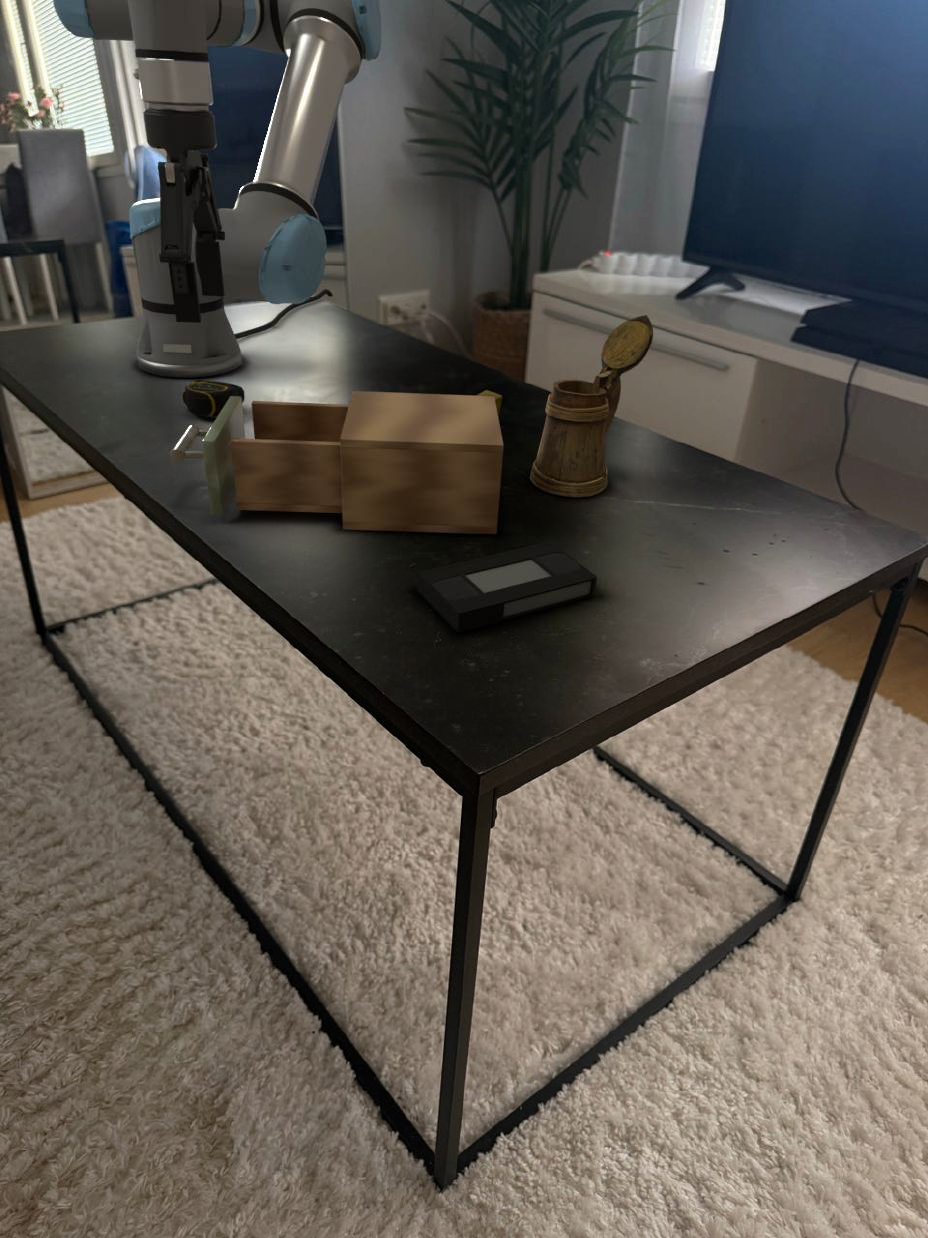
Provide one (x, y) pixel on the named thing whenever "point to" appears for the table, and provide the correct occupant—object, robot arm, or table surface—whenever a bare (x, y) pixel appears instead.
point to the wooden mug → (587, 417)
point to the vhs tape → (505, 585)
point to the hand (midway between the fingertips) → (202, 308)
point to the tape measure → (209, 397)
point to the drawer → (272, 457)
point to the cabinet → (421, 463)
